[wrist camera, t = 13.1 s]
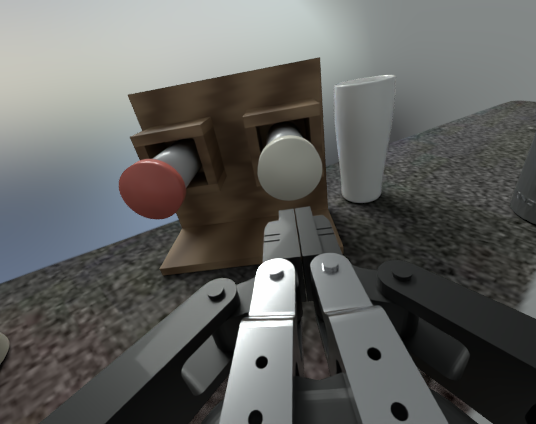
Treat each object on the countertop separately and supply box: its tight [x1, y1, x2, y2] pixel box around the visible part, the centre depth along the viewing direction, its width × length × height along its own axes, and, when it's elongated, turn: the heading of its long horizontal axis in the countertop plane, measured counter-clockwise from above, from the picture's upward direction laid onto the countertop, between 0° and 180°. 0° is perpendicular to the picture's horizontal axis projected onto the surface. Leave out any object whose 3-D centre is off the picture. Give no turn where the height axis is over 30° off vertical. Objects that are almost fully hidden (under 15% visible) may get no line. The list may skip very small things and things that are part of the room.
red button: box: [119, 138, 202, 219], centre depth 24 cm, size 5×10×5 cm, turn 179°
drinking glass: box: [334, 75, 396, 203], centre depth 32 cm, size 7×7×15 cm
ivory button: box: [258, 121, 322, 201], centre depth 23 cm, size 5×10×5 cm, turn 179°
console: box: [128, 58, 343, 275], centre depth 26 cm, size 20×10×18 cm, turn 89°
